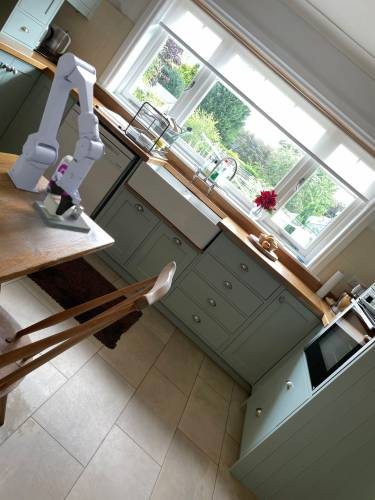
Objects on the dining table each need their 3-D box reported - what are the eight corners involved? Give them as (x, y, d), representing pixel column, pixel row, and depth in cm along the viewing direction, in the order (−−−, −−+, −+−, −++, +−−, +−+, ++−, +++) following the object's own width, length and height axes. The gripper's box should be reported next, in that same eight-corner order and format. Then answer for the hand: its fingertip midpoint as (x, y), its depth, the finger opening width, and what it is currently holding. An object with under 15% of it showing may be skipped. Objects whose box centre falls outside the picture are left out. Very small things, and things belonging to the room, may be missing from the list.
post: (68, 213, 127) (75, 203, 125) (75, 215, 129) (81, 204, 128) (72, 219, 126) (78, 208, 124) (79, 220, 128) (85, 209, 126)
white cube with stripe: (57, 206, 124) (63, 195, 122) (64, 216, 121) (71, 206, 120) (42, 203, 119) (49, 192, 118) (50, 213, 117) (56, 202, 115)
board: (33, 204, 121) (35, 200, 120) (74, 212, 134) (76, 209, 133) (47, 226, 115) (49, 222, 115) (88, 232, 129) (90, 228, 128)
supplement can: (58, 205, 131) (79, 169, 126) (39, 190, 131) (60, 154, 126) (70, 201, 139) (90, 168, 134) (52, 188, 139) (72, 153, 134)
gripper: (54, 156, 116) (33, 192, 120) (75, 184, 109) (53, 221, 113) (73, 163, 121) (53, 197, 126) (94, 189, 115) (72, 224, 119)
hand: (54, 208), depth 120 cm, fingers closed on white cube with stripe, 5 cm apart
